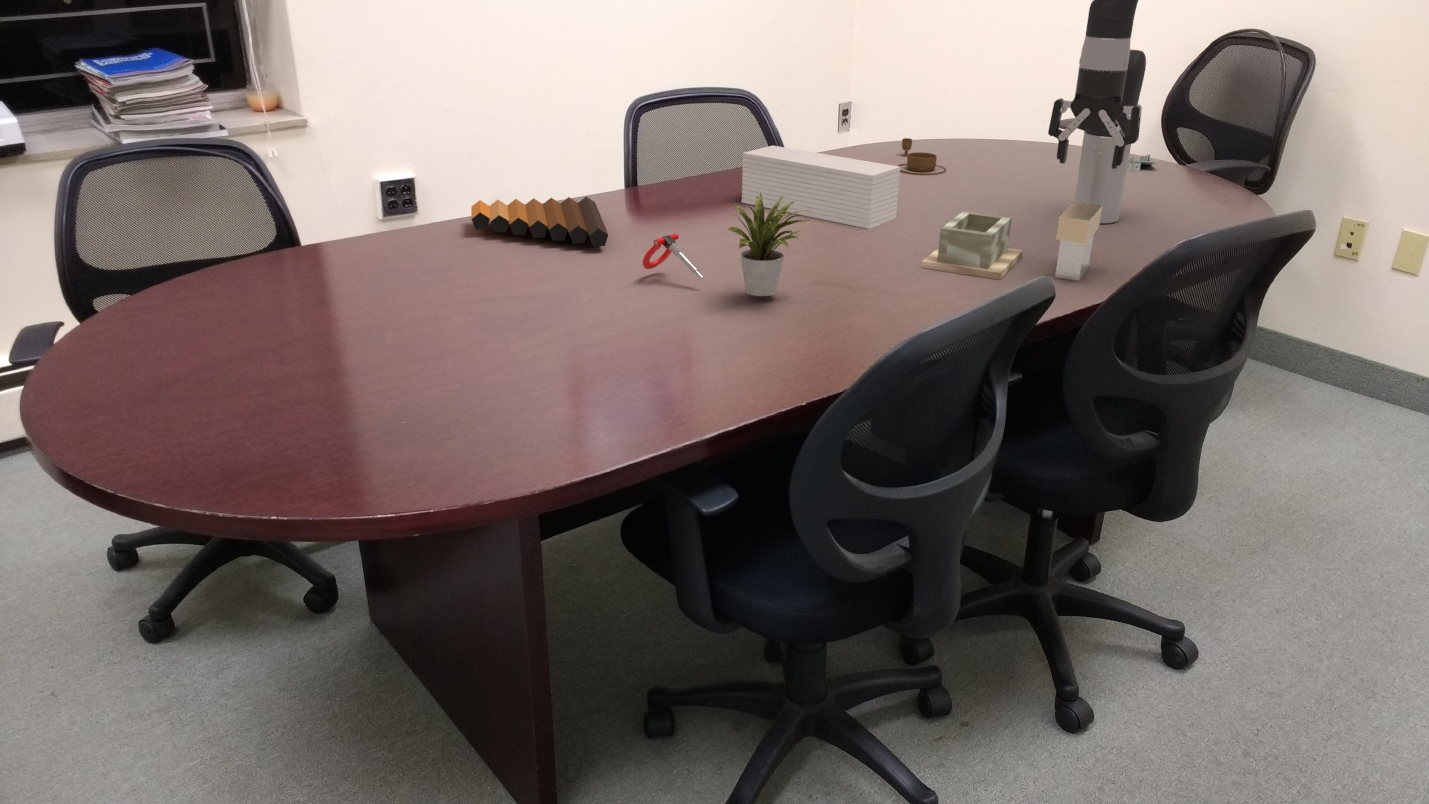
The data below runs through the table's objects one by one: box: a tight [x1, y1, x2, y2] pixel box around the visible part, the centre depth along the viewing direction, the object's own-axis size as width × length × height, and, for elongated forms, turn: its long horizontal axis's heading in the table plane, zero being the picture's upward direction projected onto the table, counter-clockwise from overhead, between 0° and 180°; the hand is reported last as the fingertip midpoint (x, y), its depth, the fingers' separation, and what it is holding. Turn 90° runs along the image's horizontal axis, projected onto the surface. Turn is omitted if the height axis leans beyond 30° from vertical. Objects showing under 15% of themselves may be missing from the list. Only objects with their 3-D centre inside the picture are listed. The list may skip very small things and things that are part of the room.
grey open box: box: [920, 210, 1023, 281], centre depth 197 cm, size 16×14×7 cm
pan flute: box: [470, 196, 609, 247], centre depth 213 cm, size 25×3×25 cm
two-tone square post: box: [1054, 201, 1103, 282], centre depth 191 cm, size 12×5×11 cm, turn 152°
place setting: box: [897, 137, 947, 176], centre depth 268 cm, size 18×20×6 cm
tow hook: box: [641, 233, 704, 280], centre depth 189 cm, size 7×10×7 cm
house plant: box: [726, 193, 810, 297], centre depth 177 cm, size 14×14×16 cm
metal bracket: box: [1127, 154, 1158, 173], centre depth 269 cm, size 14×6×15 cm
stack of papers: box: [741, 145, 901, 230], centre depth 230 cm, size 32×11×11 cm, turn 51°
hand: (1088, 165), depth 186 cm, fingers open, 8 cm apart
